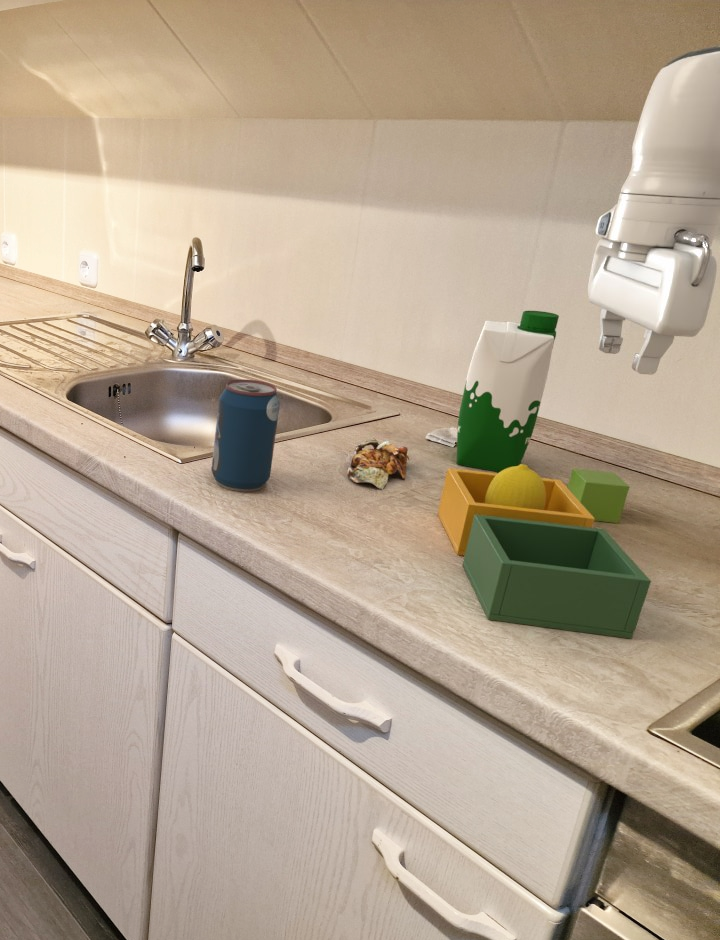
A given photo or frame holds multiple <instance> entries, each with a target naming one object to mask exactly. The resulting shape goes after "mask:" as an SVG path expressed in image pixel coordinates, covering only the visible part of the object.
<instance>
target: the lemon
mask: <svg viewBox="0 0 720 940" xmlns="http://www.w3.org/2000/svg"><path fill="white" fill-rule="evenodd" d="M497 473H498V474H497V475H496V476H495V477H494V478H493V480H492V482H491V483H490V485H489V488H488V490H487V493H486V497H485V504H494V505H502V506H511V507H520V508H529V509H538V510H544V506H545V500H546V491H545V486H544V483H543V480H542V479H541V478H542V477H541V476H540V475H539V474H538V473H537V472H536V471H535V470H533V469H531V468H529V465H527V464H525V463H521V464H520V465H519V466H514V467H509V468H506V469H504V470H502V471H501V472H497Z"/></svg>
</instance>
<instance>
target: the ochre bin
mask: <svg viewBox="0 0 720 940" xmlns="http://www.w3.org/2000/svg"><path fill="white" fill-rule="evenodd" d="M498 473H499V472H490V471H480V470H471V469H461V468H453V467H447V470H446V474H445V479H444V483H443V488H442V491H441V497H440V500H439V501H440V502H439V506H438V510H437V516H438V518H439V520H440V522H441V524H442V526H443V528H444V530H445V533H446V534H447V537H448V539H449V541H450V544H451V545H452V547H453V549H454V552H455V553H456V555H457V556H465V552H466V548H467V544H468V540H469V535H470V531H471V527H472V523H473V519H474V515H475V514H477V515H486V516H494V517H503V518H512V519H521V520H529V521H538V522H547V523H555V524H564V525H573V526H582V527H590V528H594V523H595V521H594V520H595V518H594V517H593V516H592V515H591V514H590V513H589V512H588V510H587V509H586V508H585V507H584V506H583V505H582V504H581V503H580V502H579V500H578V499H577V498H576V497H575V496H574V495H573V494H572V493H571V491H570V490H569V489H568V486H566V485H565V483H564V482H563V481H562V480H561V479H555V478H547V477H546V478H545V477H541V479H542V480H543V483H544V486H545V491H546V500H545V506H544V510H538V509H529V508H520V507H511V506H502V505H494V504H485V497H486V493H487V490H488V488H489V485H490V483H491V482H492V480H493V478H494V477H495V476H496V475H497V474H498Z"/></svg>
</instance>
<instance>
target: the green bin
mask: <svg viewBox="0 0 720 940" xmlns="http://www.w3.org/2000/svg"><path fill="white" fill-rule="evenodd" d="M616 541H617V540H615V539H614V538H613V537H612V536H611V535H610V533H609V532H608V531H607V530H606V529H605V528H600V527H599V528H598V527H592V528H590V527H582V526H573V525H564V524H555V523H547V522H538V521H529V520H521V519H512V518H503V517H494V516H486V515H477V514H475V515H474V519H473V523H472V527H471V531H470V535H469V540H468V544H467V548H466V552H465V556H464V557H463V561H462V565H461V566H462V568H463V570H464V572H465V574H466V576H467V578H468V580H469V582H470V585H471V587H472V589H473V591H474V593H475V595H476V597H477V599H478V602H479V604H480V606H481V608H482V610H483V613H484V614H485V616H486V618H487V620H489V621H495V622H504V623H511V624H519V625H527V626H534V627H539V628H541V627H542V628H549V629H554V630H555V629H556V630H562V631H563V630H564V631H570V632H579V633H587V634H593V635H599V636H600V635H601V636H608V637H616V638H623V639H630V640H631V639H632V638H633V637H634V633H635V631H636V627H637V624H638V621H639V619H640V616H641V613H642V610H643V608H644V603H645V601H646V598H647V595H648V592H649V589H650V585H651V583H652V580H651V579H650V578H649V577H648V575H646V574H645V572H644V571H643V570H642V568H640V567H639V566H638V565H637V563H636V562H635V561H634V560H633V559H632V558H631V556H630V555H628V553H626V551H625V550H624V549H623V548H622V547H621V546H620V545H619V544H618V543H617V542H616Z"/></svg>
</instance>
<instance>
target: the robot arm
mask: <svg viewBox="0 0 720 940" xmlns="http://www.w3.org/2000/svg"><path fill="white" fill-rule="evenodd" d="M631 153H632V161H631V167H630V171H629V173H628V176H627V178H626V180H625V181H624V182H623V184H622V186H621V189H620V193H619V196H618V199H617V203H615V204H614V205H613V207H612V208H611V209H609V210H608V211H607V212H605V213H602V214H601V215H600V216H599V217H598V220H597V222H596V223H597V224H596V227H595V235H596V237H600V239H599V240H598V241H597V244H596V246H595V249H594V252H593V257H592V262H591V268H590V271H589V278H588V283H587V298H588V299H587V300H588V302H589V303H591V304H593V305H594V306H597V307H599V308H601V312H600V316H599V329H600V331H599V332H600V335H599V340H598V343H597V349H598V350H599V351H600V352H602V353H604V354H612V355H614V354H619V352H620V351H621V346H622V344H623V341H624V338H623V337H622V329H623V322H624V321H626V320H628V321H629V322H632V323H633V324H636V325H638V326H640V327H643V328H645V331H644V335H643V339H644V340H645V341H644V342H643V344H642V346H641V349H640V350H639V352H635V354H634V357H633V362H632V365H631V369H632V370H633V371H634V372H636V373H638V374H640V375H650V376H653V375H654V374H656V373H657V371H658V370H659V369H658V368H659V366H660V362H661V359H662V358H663V357H664V355H665V354H666V352H667V351H668V350H669V348H670V347H671V346H672V345H673V344H674V343H673V342H674V339H675V337H683V338H684V337H687V338H693V337H696V336H698V334H699V333H700V332H701V330H702V329H703V328H704V326H705V323H706V321H707V317H708V314H709V309H710V305H711V301H712V298H713V294H714V293H713V292H714V287H715V283H716V277H717V271H718V269H717V268H718V266H717V265H718V264H717V260H716V258H715V257H714V255H713V249H712V248H711V247H712V245H713V241H714V239H715V235H716V231H717V228H718V225H719V222H720V45H717V46H712V47H705V48H702V49H701V48H700V49H698V50H695V51H688V52H686V53H684V54H681V55H679V56H677V57H675V58H673V59H671V60H670V61H669V62H668V63H667V64H666V65H664V66H663V67H662V68H661V69H660V70H659V71H658V73H657V74H656V76H655V78H654V79H653V82H652V85H651V87H650V88H649V91H648V94H647V96H646V100H645V101H644V105H643V108H642V111H641V114H640V117H639V121H638V124H637V128H636V131H635V135H634V138H633V141H632V147H631Z"/></svg>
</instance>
